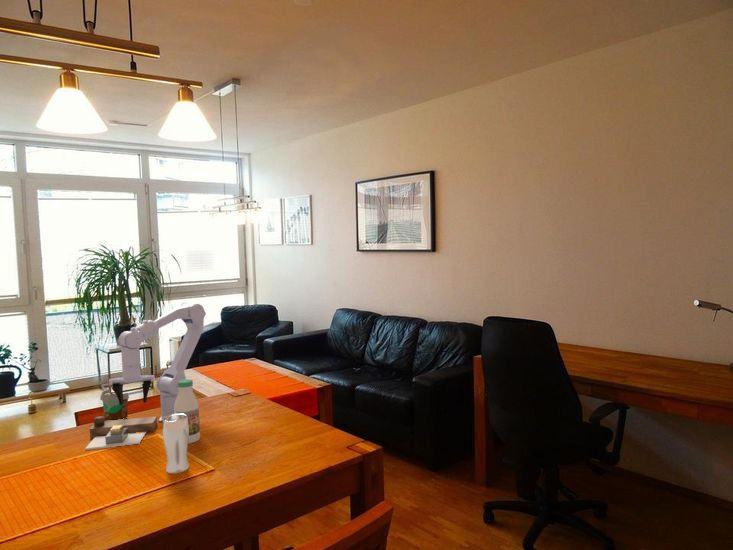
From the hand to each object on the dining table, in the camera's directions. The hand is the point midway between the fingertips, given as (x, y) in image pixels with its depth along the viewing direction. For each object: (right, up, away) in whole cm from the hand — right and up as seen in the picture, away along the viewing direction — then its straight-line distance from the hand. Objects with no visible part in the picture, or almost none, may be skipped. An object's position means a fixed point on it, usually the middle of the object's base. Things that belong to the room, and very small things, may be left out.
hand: (133, 403), depth 172 cm
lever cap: (0, -9, -11) cm, 14 cm away
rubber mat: (0, -10, -11) cm, 15 cm away
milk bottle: (+24, -10, -12) cm, 28 cm away
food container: (-14, -9, +11) cm, 20 cm away
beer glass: (+29, -10, -33) cm, 45 cm away
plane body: (-2, -9, -1) cm, 10 cm away
